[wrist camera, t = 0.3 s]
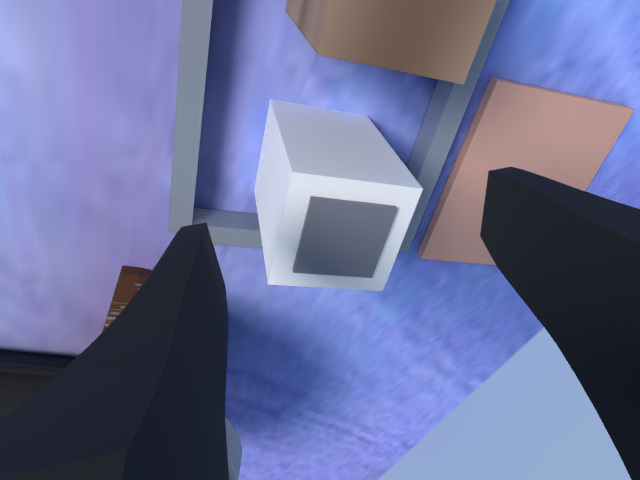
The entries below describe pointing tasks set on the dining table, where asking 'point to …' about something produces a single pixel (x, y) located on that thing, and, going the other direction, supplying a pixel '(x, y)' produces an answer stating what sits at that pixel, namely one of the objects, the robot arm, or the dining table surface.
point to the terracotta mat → (518, 157)
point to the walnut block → (397, 33)
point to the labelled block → (330, 199)
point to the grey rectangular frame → (245, 226)
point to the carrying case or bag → (25, 376)
